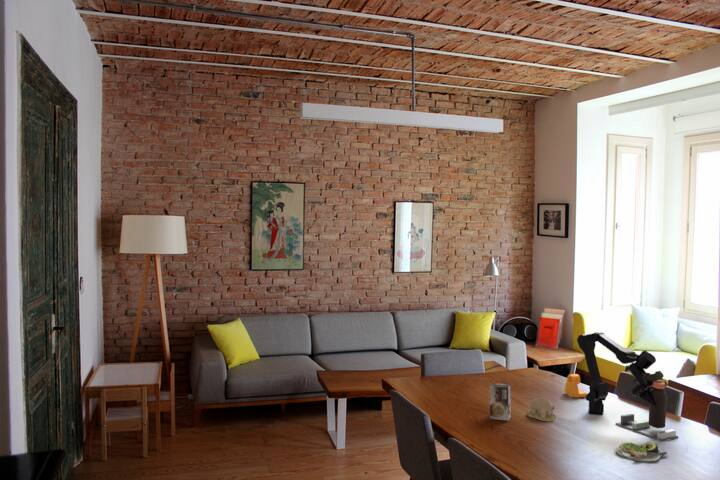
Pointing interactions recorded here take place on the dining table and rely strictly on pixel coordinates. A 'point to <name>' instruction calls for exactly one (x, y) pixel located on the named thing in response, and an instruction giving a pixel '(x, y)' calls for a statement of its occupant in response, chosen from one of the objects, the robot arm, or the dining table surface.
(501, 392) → the coffee box
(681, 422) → the dining table surface
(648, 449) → the salad plate
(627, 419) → the sliding jaw
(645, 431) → the vise
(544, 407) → the ceramic model
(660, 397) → the vinegar
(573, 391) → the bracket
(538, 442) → the dining table surface
